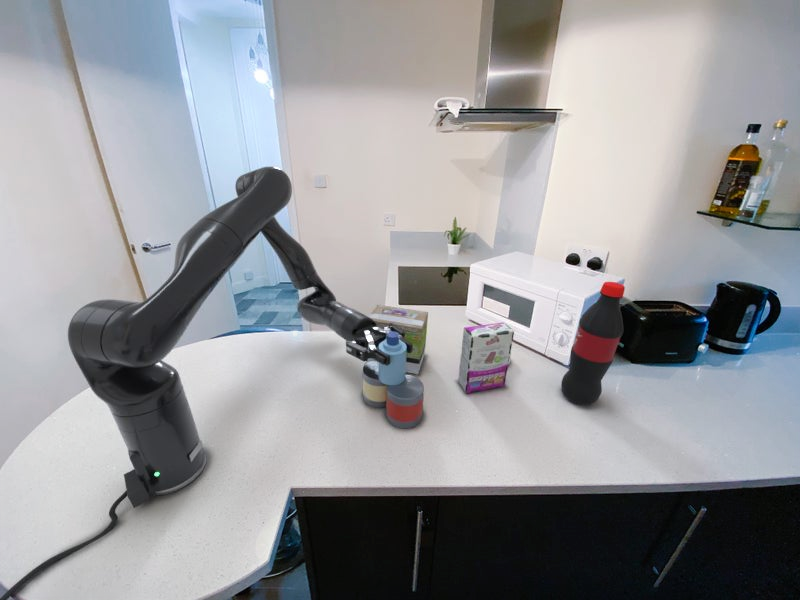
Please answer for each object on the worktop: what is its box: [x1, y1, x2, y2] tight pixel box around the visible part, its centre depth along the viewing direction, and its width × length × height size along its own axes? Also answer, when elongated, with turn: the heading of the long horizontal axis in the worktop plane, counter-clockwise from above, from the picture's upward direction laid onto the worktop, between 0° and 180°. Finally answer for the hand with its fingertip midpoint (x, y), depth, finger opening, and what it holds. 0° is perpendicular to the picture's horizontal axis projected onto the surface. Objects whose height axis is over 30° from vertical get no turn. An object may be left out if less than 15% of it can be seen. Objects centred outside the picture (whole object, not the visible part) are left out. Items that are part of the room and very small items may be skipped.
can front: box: [385, 374, 425, 429], centre depth 69 cm, size 8×8×8 cm
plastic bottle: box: [379, 331, 407, 385], centre depth 68 cm, size 6×6×11 cm
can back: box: [362, 360, 387, 409], centre depth 75 cm, size 8×8×8 cm
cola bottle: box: [560, 281, 626, 406], centre depth 72 cm, size 8×8×30 cm
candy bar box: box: [457, 321, 515, 394], centre depth 78 cm, size 11×5×16 cm, turn 105°
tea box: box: [366, 304, 429, 375], centre depth 87 cm, size 15×10×15 cm, turn 76°
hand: (400, 355), depth 66 cm, fingers closed on plastic bottle, 6 cm apart
